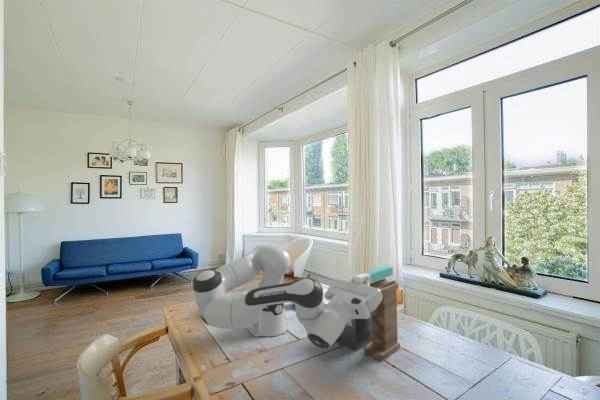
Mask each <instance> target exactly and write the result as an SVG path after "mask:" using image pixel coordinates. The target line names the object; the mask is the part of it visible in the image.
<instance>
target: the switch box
mask: <svg viewBox="0 0 600 400" xmlns="http://www.w3.org/2000/svg"><path fill="white" fill-rule="evenodd" d="M329 302H330V301H328V303H329ZM328 303H327V304H328ZM334 343H337V344H339V345H341V346H343V347H345V348H347V349H350V350H352V351H355V352H357V351H359V350H360V349H362V348H365V347H366V346H368V345H369V344H371V343H372V312H370V317H369V318H368V319H351V320H350V322H348V323H347V324H346V325H345V328H344V331H343V332H342V333H341V335H340V336H339V337H338V339H337V340H336V341H335V342H334Z"/></svg>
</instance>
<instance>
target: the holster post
mask: <svg viewBox="0 0 600 400" xmlns="http://www.w3.org/2000/svg"><path fill="white" fill-rule="evenodd" d="M386 279H387V278H382V279H380V280H377V281H374V282H372V283H370V287H374V288H378V289H380V291H381V293H382V296H383V299H382V301H381V302H380V304H379V305H378V307H377V308H376V309H375V310H374V311H372V342H370V343H368V344H367V345H365V346H364V347H363V349H364V351H363V352H364V354H365V355H369V356H371V357H373V358H375V359H377V360H379V361H381V362H384V361H385V360H386V359H388V358H389V357H390V356H392V355H393V354H394V353H396V352H397V351H398V350H399V349H401V343H400V342H399V341H398V304H397V303H398V302H397V301H398V300H397V299H398V298H397V290H398V289H399V283H398V282H397V281H396V280H391V281H388V280H386Z"/></svg>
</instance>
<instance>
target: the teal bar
mask: <svg viewBox="0 0 600 400" xmlns="http://www.w3.org/2000/svg"><path fill="white" fill-rule="evenodd" d="M393 269H394V268H393V267H392V266H388V265H387V266H383V267H379V268H375V269H372V270H369V271H367V272H363V273H360V274H356V275H357V276H356V275H354V276H353V278H354V283H358V284H362V285H364V284H366V282H365V279H366V277H368V278H371V280H372V281H371V283H372V282H375V281H377V280H380V279H383V278H384V279H386V278H387V277H390V276H393V275H394V270H393Z"/></svg>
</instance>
